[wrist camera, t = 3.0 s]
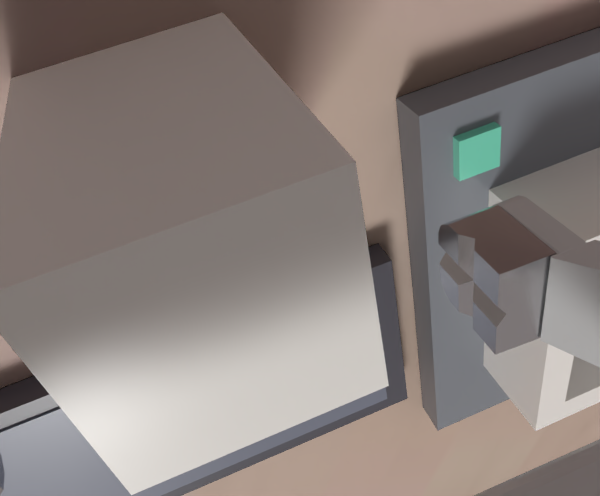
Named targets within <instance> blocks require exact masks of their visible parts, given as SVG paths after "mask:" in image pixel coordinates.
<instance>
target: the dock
mask: <svg viewBox="0 0 600 496" xmlns="http://www.w3.org/2000/svg"><path fill="white" fill-rule="evenodd" d="M396 101H397V112H398V124H399V136H400V147H401V159H402V170H403V182H404V194H405V205H406V217H407V228H408V240H409V251H410V263H411V275H412V286H413V298H414V309H415V321H416V332H417V344H418V356H419V367H420V379H421V390H422V402H423V408H424V410H425V411H426V413H427V414H428V416H429V417H430V419H431V421H432V422H433V424H434V425H435V427H436V429H437V430H440V429H442V428H444V427H447V426H449V425H451V424H453V423H456V422H458V421H460V420H462V419H465V418H467V417H469V416H472V415H474V414H476V413H478V412H481V411H483V410H485V409H487V408H490V407H492V406H494V405H496V404H499V403H501V402H503V401H505V400H508V399H510V400H511V401H512V402H513V403H514V405H515V406H516V407H517V408H518V410H519V411H520V412H521V413H522V415H523V416H524V417H525V418H526V420H527V421H528V422H529V424H530V425H531V426H532V427H533V429H534V430H535V431H537V430H539V429H541V428H543V427H546V426H548V425H550V424H552V423H554V422H557V421H559V420H561V419H563V418H565V417H568V416H570V415H572V414H574V413H576V412H579V411H581V410H583V409H585V408H587V407H590V406H592V405H594V404H596V403H598V402H600V367H597V366H595V365H593V364H591V363H589V362H586V361H584V360H582V359H580V358H578V357H575V356H573V355H571V354H569V353H567V352H565V351H562V350H560V349H558V348H556V347H554V346H551V345H549V344H547V343H545V342H543V341H540V338H539V339H536V340H533V341H531V342H528V343H525V344H523V345H520V346H517V347H515V348H512V349H509V350H507V351H504V352H501V353H499V354H496V355H495V354H494V353H493V352H492V350H491V349H490V348H489V347H488V346H487V345H486V343H485V342H484V341H483V340H482V339H481V338H480V336H479V335H478V334H477V333H476V332H475V331H474V329H473V317H472V316H469V315H466V314H463V313H460V312H458V310H457V309H456V308H455V307H454V306H453V304H452V303H451V302H450V300H449V298H448V296H447V295H446V293H445V291H444V288H443V285H442V282H441V279H440V268H439V263H440V261H441V260H442V258H443V256H444V255H445V253H446V252H445V251H444V249H443V248H442V247H441V246H440V245H439V243H438V232H439V229H440V226H441V225H442V224H445V223H447V222H450V221H453V220H455V219H458V218H461V217H464V216H466V215H469V214H472V213H474V212H477V211H480V210H482V209H485V208H488V207H492V206H493V205H494V204H497V203H499V202H502V201H505V200H507V199H510V198H512V197H515V196H518V195H520V196H524V197H527V198H528V199H529V200H531V201H532V202H533V203H535V204H536V205H537V206H539V207H540V208H541V209H543V210H544V211H545V212H547V213H548V214H549V215H551V216H552V217H553V218H555V219H556V220H557V221H559V222H560V223H561V224H563V225H564V226H565V227H567V228H568V229H569V230H571V231H572V232H573V233H575V234H576V235H577V236H579V237H580V238H581V239H583V240H584V241H585V242H590V241H593V240H599V241H600V27H599V28H596V29H593V30H590V31H587V32H585V33H582V34H579V35H576V36H573V37H570V38H567V39H564V40H562V41H559V42H556V43H553V44H550V45H547V46H544V47H541V48H539V49H536V50H533V51H530V52H527V53H524V54H521V55H519V56H516V57H513V58H510V59H507V60H504V61H501V62H498V63H496V64H493V65H490V66H487V67H484V68H481V69H478V70H475V71H473V72H470V73H467V74H464V75H461V76H458V77H455V78H452V79H450V80H447V81H444V82H441V83H438V84H435V85H432V86H430V87H427V88H424V89H421V90H418V91H415V92H412V93H409V94H407V95H404V96H401V97H398V98H396Z"/></svg>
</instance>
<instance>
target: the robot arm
mask: <svg viewBox="0 0 600 496" xmlns="http://www.w3.org/2000/svg"><path fill="white" fill-rule="evenodd" d="M438 243H439V245H440V246H441V247H442V248H443V249H444V251H445V252H446V253H445V255H444V256H443V258H442V260H441V261H440V263H439V268H440V279H441V282H442V285H443V288H444V291H445V293H446V295H447V296H448V298H449V300H450V302H451V303H452V304H453V306H454V307H455V308H456V309H457V310H458V312H460V313H463V314H466V315H469V316H472V317H473V329H474V331H475V332H476V333H477V334H478V335H479V336H480V338H481V339H482V340H483V341H484V342H485V343H486V345H487V346H488V347H489V348H490V349H491V350H492V352H493V353H494V354H495V355H496V354H499V353H501V352H504V351H507V350H509V349H512V348H515V347H517V346H520V345H523V344H525V343H528V342H531V341H533V340H536V339H539V338H540V341H543V342H545V343H547V344H549V345H551V346H554V347H556V348H558V349H560V350H562V351H565V352H567V353H569V354H571V355H573V356H575V357H578V358H580V359H582V360H584V361H586V362H589V363H591V364H593V365H595V366H597V367H600V241H599V240H593V241H590V242H585V241H584V240H583V239H581V238H580V237H579V236H577V235H576V234H575V233H573V232H572V231H571V230H569V229H568V228H567V227H565V226H564V225H563V224H561V223H560V222H559V221H557V220H556V219H555V218H553V217H552V216H551V215H549V214H548V213H547V212H545V211H544V210H543V209H541V208H540V207H539V206H537V205H536V204H535V203H533V202H532V201H531V200H529V199H528V198H527V197H524V196H520V195H518V196H515V197H512V198H510V199H507V200H505V201H502V202H499V203H497V204H494V205H493V206H492V207H488V208H485V209H482V210H480V211H477V212H474V213H472V214H469V215H466V216H464V217H461V218H458V219H455V220H453V221H450V222H447V223H445V224H442V225H441V226H440V229H439V232H438ZM4 476H5V472H4V467H3V461H2V456H1V453H0V494H1V493H2V491H3V490H4ZM474 496H600V439H599V440H597V441H595V442H593V443H590V444H588V445H586V446H584V447H581V448H579V449H577V450H575V451H572V452H570V453H568V454H566V455H564V456H561V457H559V458H557V459H555V460H552V461H550V462H548V463H546V464H543V465H541V466H539V467H537V468H534V469H532V470H530V471H528V472H526V473H523V474H521V475H519V476H517V477H514V478H512V479H510V480H508V481H505V482H503V483H501V484H499V485H496V486H494V487H492V488H490V489H487V490H485V491H483V492H481V493H478V494H476V495H474Z"/></svg>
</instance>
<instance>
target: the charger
mask: <svg viewBox="0 0 600 496" xmlns="http://www.w3.org/2000/svg"><path fill="white" fill-rule="evenodd" d="M0 334H1V335H2V337H3V338H4V339H5V340H6V341H7V343H8V344H9V345H10V346H11V348H12V349H13V350H14V351H15V353H16V354H17V355H18V356H19V357H20V359H21V360H22V361H23V362H24V364H25V365H26V366H27V367H28V369H29V370H30V371H31V372H32V373H33V375H34V376H35V377H36V378H37V380H38V381H39V382H40V383H41V385H42V386H43V387H44V388H45V389H46V391H47V392H48V393H49V394H50V396H51V397H52V398H53V399H54V401H55V402H56V403H57V404H58V405H59V407H60V408H61V409H62V410H63V412H64V413H65V414H66V415H67V417H68V418H69V419H70V420H71V421H72V423H73V424H74V425H75V426H76V428H77V429H78V430H79V431H80V433H81V434H82V435H83V436H84V437H85V439H86V440H87V441H88V442H89V444H90V445H91V446H92V447H93V449H94V450H95V451H96V452H97V454H98V455H99V456H100V457H101V458H102V460H103V461H104V462H105V463H106V465H107V466H108V467H109V468H110V470H111V471H112V472H113V473H114V474H115V476H116V477H117V478H118V479H119V481H120V482H121V483H122V484H123V486H124V487H125V488H126V489H127V490H128V492H129V493H130V494H131V495H133V494H136V493H138V492H140V491H143V490H145V489H147V488H150V487H152V486H154V485H157V484H159V483H161V482H164V481H166V480H169V479H171V478H173V477H176V476H178V475H180V474H183V473H185V472H187V471H190V470H192V469H194V468H197V467H199V466H201V465H204V464H206V463H208V462H211V461H213V460H216V459H218V458H220V457H223V456H225V455H227V454H230V453H232V452H234V451H237V450H239V449H241V448H244V447H246V446H248V445H251V444H253V443H255V442H258V441H260V440H263V439H265V438H267V437H270V436H272V435H274V434H277V433H279V432H281V431H284V430H286V429H288V428H291V427H293V426H295V425H298V424H300V423H302V422H305V421H307V420H310V419H312V418H314V417H317V416H319V415H321V414H324V413H326V412H328V411H331V410H333V409H335V408H338V407H340V406H342V405H345V404H347V403H349V402H352V401H354V400H357V399H359V398H361V397H364V396H366V395H368V394H371V393H373V392H375V391H378V390H380V389H382V388H385V387H387V386H389V384H388V377H387V370H386V363H385V357H384V350H383V343H382V336H381V330H380V323H379V316H378V309H377V303H376V296H375V289H374V283H373V276H372V269H371V262H370V256H369V249H368V242H367V235H366V229H365V222H364V215H363V208H362V202H361V195H360V188H359V181H358V175H357V168H356V161H355V160H354V159H353V158H352V157H351V156H350V155H349V153H348V152H347V151H346V150H345V149H344V148H343V147H342V146H341V144H340V143H339V142H338V141H337V140H336V139H335V138H334V137H333V135H332V134H331V133H330V132H329V131H328V130H327V129H326V128H325V126H324V125H323V124H322V123H321V122H320V121H319V120H318V119H317V117H316V116H315V115H314V114H313V113H312V112H311V111H310V110H309V109H308V107H307V106H306V105H305V104H304V103H303V102H302V101H301V100H300V98H299V97H298V96H297V95H296V94H295V93H294V92H293V91H292V89H291V88H290V87H289V86H288V85H287V84H286V83H285V82H284V80H283V79H282V78H281V77H280V76H279V75H278V74H277V73H276V71H275V70H274V69H273V68H272V67H271V66H270V65H269V64H268V62H267V61H266V60H265V59H264V58H263V57H262V56H261V55H260V53H259V52H258V51H257V50H256V49H255V48H254V47H253V46H252V44H251V43H250V42H249V41H248V40H247V39H246V38H245V37H244V35H243V34H242V33H241V32H240V31H239V30H238V29H237V28H236V26H235V25H234V24H233V23H232V22H231V21H230V20H229V19H228V18H227V16H226V15H225V14H224V13H223V12H222V13H219V14H216V15H213V16H210V17H206V18H203V19H200V20H197V21H193V22H190V23H187V24H184V25H181V26H177V27H174V28H171V29H168V30H165V31H161V32H158V33H155V34H152V35H149V36H145V37H142V38H139V39H136V40H132V41H129V42H126V43H123V44H120V45H116V46H113V47H110V48H107V49H104V50H100V51H97V52H94V53H91V54H87V55H84V56H81V57H78V58H75V59H71V60H68V61H65V62H62V63H59V64H55V65H52V66H49V67H46V68H43V69H39V70H36V71H33V72H30V73H26V74H23V75H20V76H17V77H14V78H11V81H10V87H9V93H8V98H7V104H6V110H5V116H4V122H3V127H2V133H1V139H0Z"/></svg>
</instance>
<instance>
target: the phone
mask: <svg viewBox="0 0 600 496" xmlns="http://www.w3.org/2000/svg"><path fill="white" fill-rule="evenodd" d="M368 249H369V256H370V262H371V269H372V276H373V283H374V289H375V296H376V303H377V309H378V316H379V323H380V330H381V336H382V343H383V350H384V357H385V363H386V370H387V377H388V384H389V386H387V387H385V388H382V389H380V390H378V391H375V392H373V393H371V394H368V395H366V396H364V397H361V398H359V399H357V400H354V401H352V402H349V403H347V404H345V405H342V406H340V407H338V408H335V409H333V410H331V411H328V412H326V413H324V414H321V415H319V416H317V417H314V418H312V419H310V420H307V421H305V422H302V423H300V424H298V425H295V426H293V427H291V428H288V429H286V430H284V431H281V432H279V433H277V434H274V435H272V436H270V437H267V438H265V439H263V440H260V441H258V442H255V443H253V444H251V445H248V446H246V447H244V448H241V449H239V450H237V451H234V452H232V453H230V454H227V455H225V456H223V457H220V458H218V459H216V460H213V461H211V462H208V463H206V464H204V465H201V466H199V467H197V468H194V469H192V470H190V471H187V472H185V473H183V474H180V475H178V476H176V477H173V478H171V479H169V480H166V481H164V482H161V483H159V484H157V485H154V486H152V487H150V488H147V489H145V490H143V491H140V492H138V493H136V494H133V495H131V494H130V493H129V492H128V490H127V489H126V488H125V487H124V486H123V484H122V483H121V482H120V481H119V479H118V478H117V477H116V476H115V474H114V473H113V472H112V471H111V470H110V468H109V467H108V466H107V465H106V463H105V462H104V461H103V460H102V458H101V457H100V456H99V455H98V454H97V452H96V451H95V450H94V449H93V447H92V446H91V445H90V444H89V442H88V441H87V440H86V439H85V437H84V436H83V435H82V434H81V433H80V431H79V430H78V429H77V428H76V426H75V425H74V424H73V423H72V421H71V420H70V419H69V418H68V417H67V415H66V414H65V413H64V412H63V410H62V409H61V408H60V407H59V405H58V404H57V403H56V402H55V401H54V399H53V398H52V397H51V396H50V394H49V393H48V392H47V391H46V389H45V388H44V387H43V386H42V385H41V383H40V382H39V381H38V380H37V378H36V377H35V376H33V377H30V378H28V379H25V380H23V381H20V382H17V383H15V384H12V385H10V386H7V387H4V388H2V389H0V453H1V456H2V461H3V467H4V472H5V476H4V490H3V491H2V493H1V494H0V496H181V495H184V494H186V493H188V492H191V491H193V490H195V489H198V488H200V487H202V486H205V485H207V484H209V483H212V482H214V481H216V480H219V479H221V478H223V477H226V476H228V475H230V474H233V473H235V472H237V471H240V470H242V469H244V468H247V467H249V466H251V465H253V464H256V463H258V462H260V461H263V460H265V459H267V458H270V457H272V456H274V455H277V454H279V453H281V452H284V451H286V450H288V449H291V448H293V447H295V446H298V445H300V444H302V443H305V442H307V441H309V440H312V439H314V438H316V437H319V436H321V435H323V434H326V433H328V432H330V431H333V430H335V429H337V428H339V427H342V426H344V425H346V424H349V423H351V422H353V421H356V420H358V419H360V418H363V417H365V416H367V415H370V414H372V413H374V412H377V411H379V410H381V409H384V408H386V407H388V406H391V405H393V404H395V403H398V402H400V401H402V400H405V399H407V390H406V382H405V373H404V364H403V356H402V347H401V338H400V329H399V321H398V312H397V303H396V295H395V286H394V277H393V269H392V261H391V259H390V258H389V257H388V255H387V254H386V253H385V251H384V250H383V249H382V248H381V246H380V245H379V244H375V245H373V246H370V247H368Z"/></svg>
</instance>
